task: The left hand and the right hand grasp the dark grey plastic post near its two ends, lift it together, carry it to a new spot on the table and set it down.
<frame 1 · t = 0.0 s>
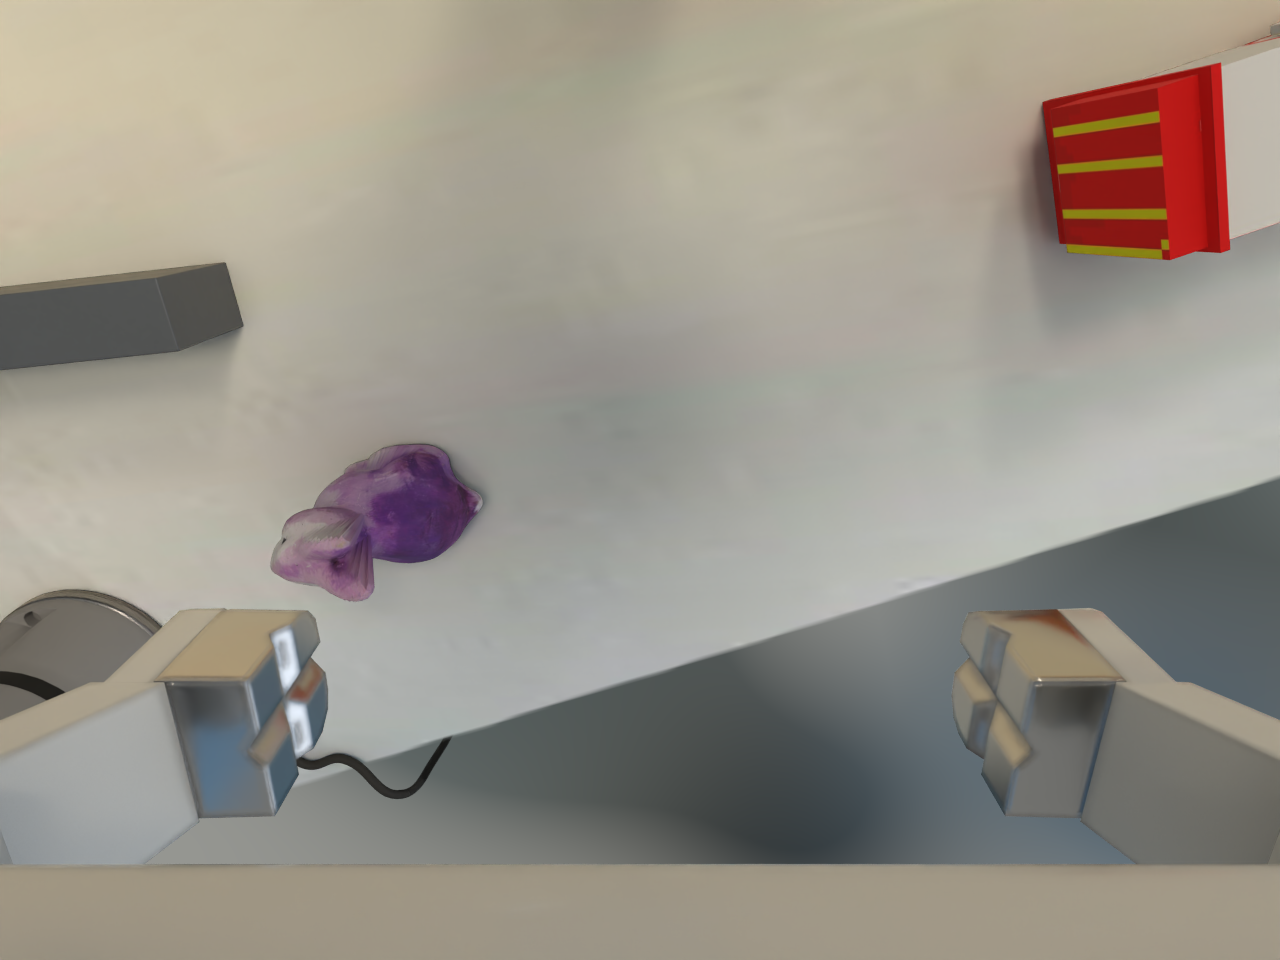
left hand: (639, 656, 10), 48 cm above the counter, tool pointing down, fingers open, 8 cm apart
figurine: (404, 493, 61), on the counter
red striped box: (1263, 104, 51), on the counter
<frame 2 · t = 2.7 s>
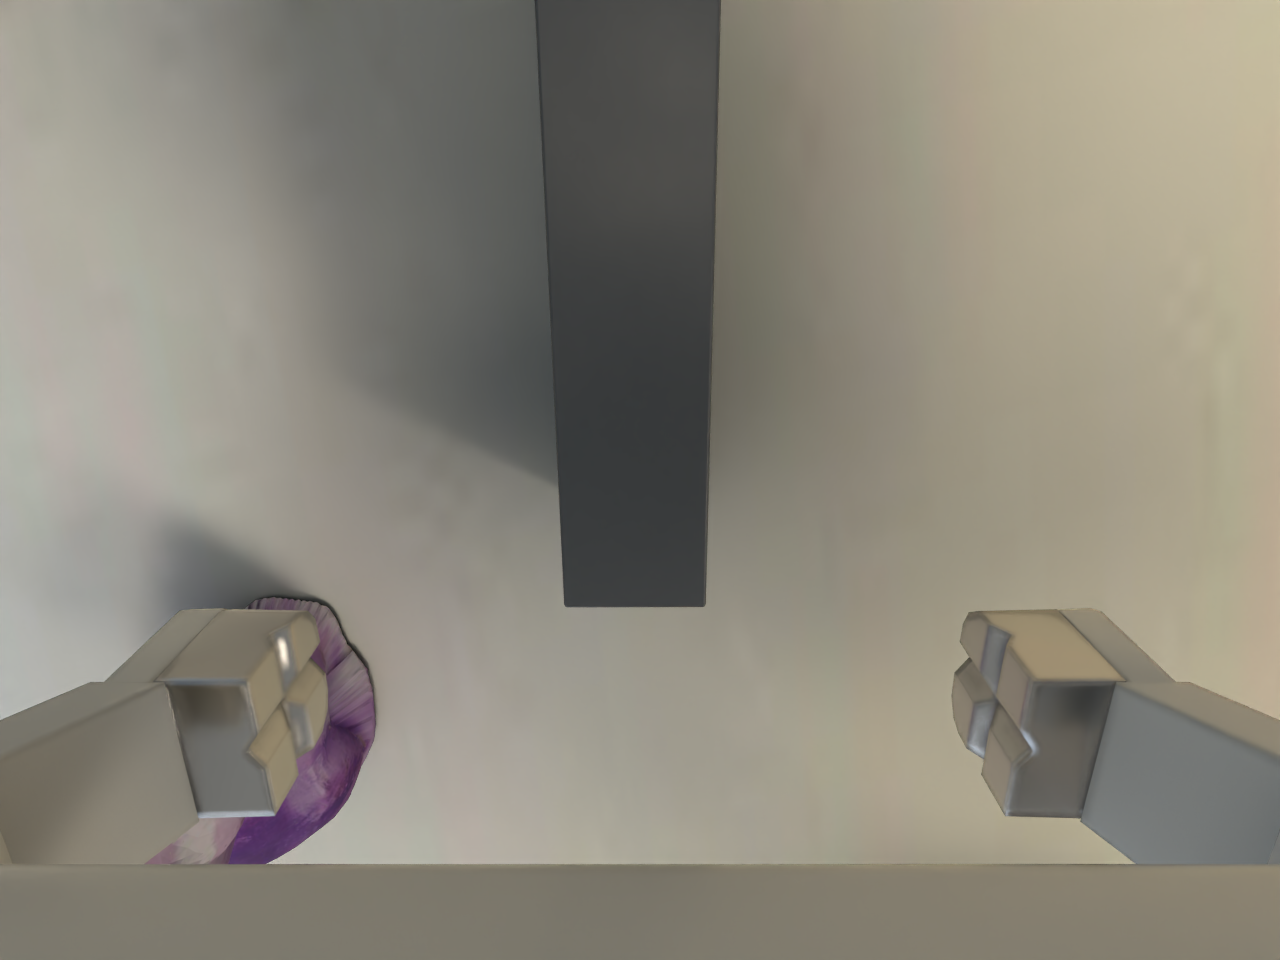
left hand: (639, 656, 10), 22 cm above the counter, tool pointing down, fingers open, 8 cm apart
figurine: (285, 678, 36), on the counter
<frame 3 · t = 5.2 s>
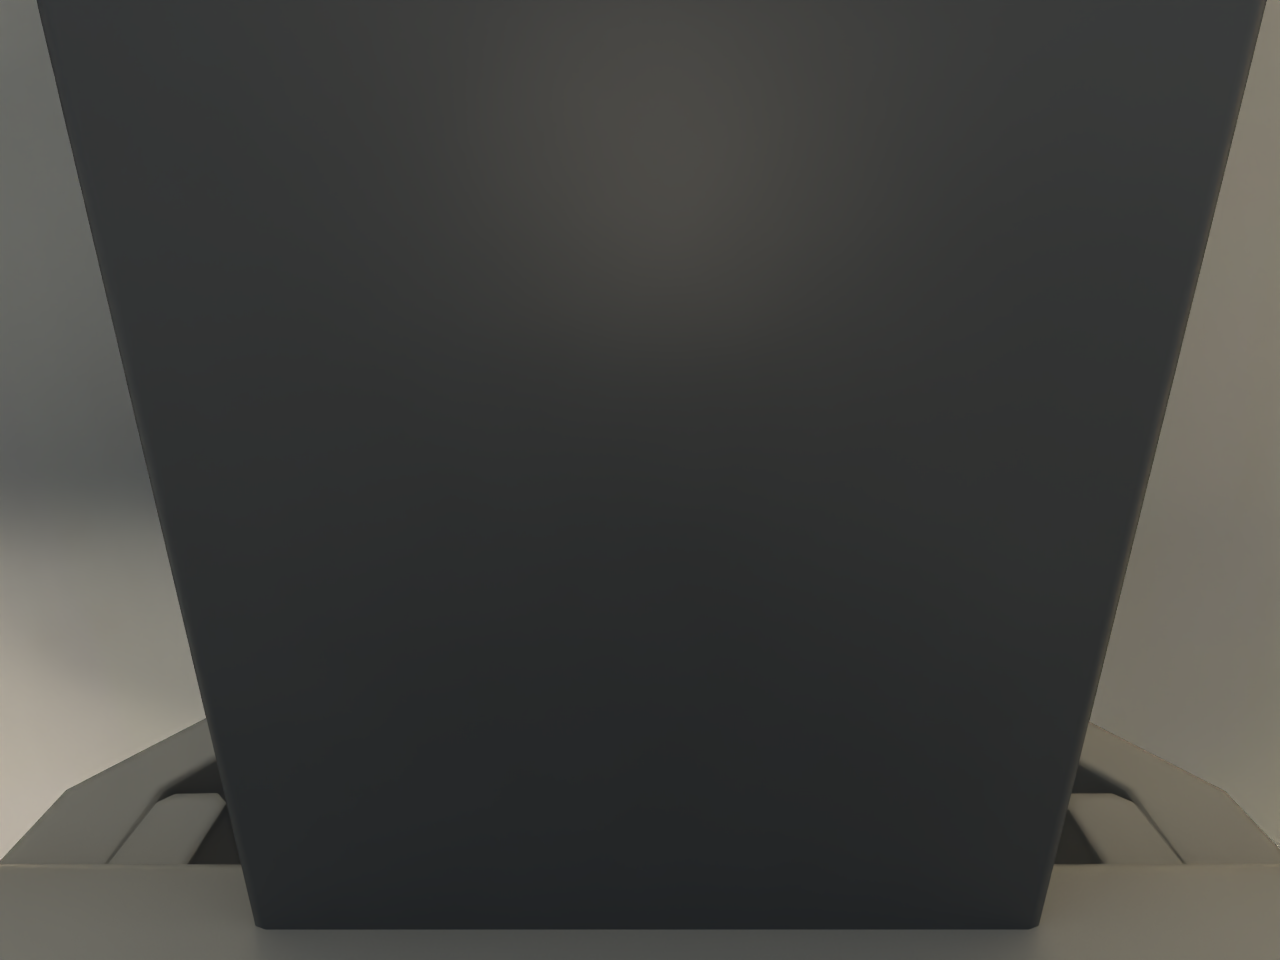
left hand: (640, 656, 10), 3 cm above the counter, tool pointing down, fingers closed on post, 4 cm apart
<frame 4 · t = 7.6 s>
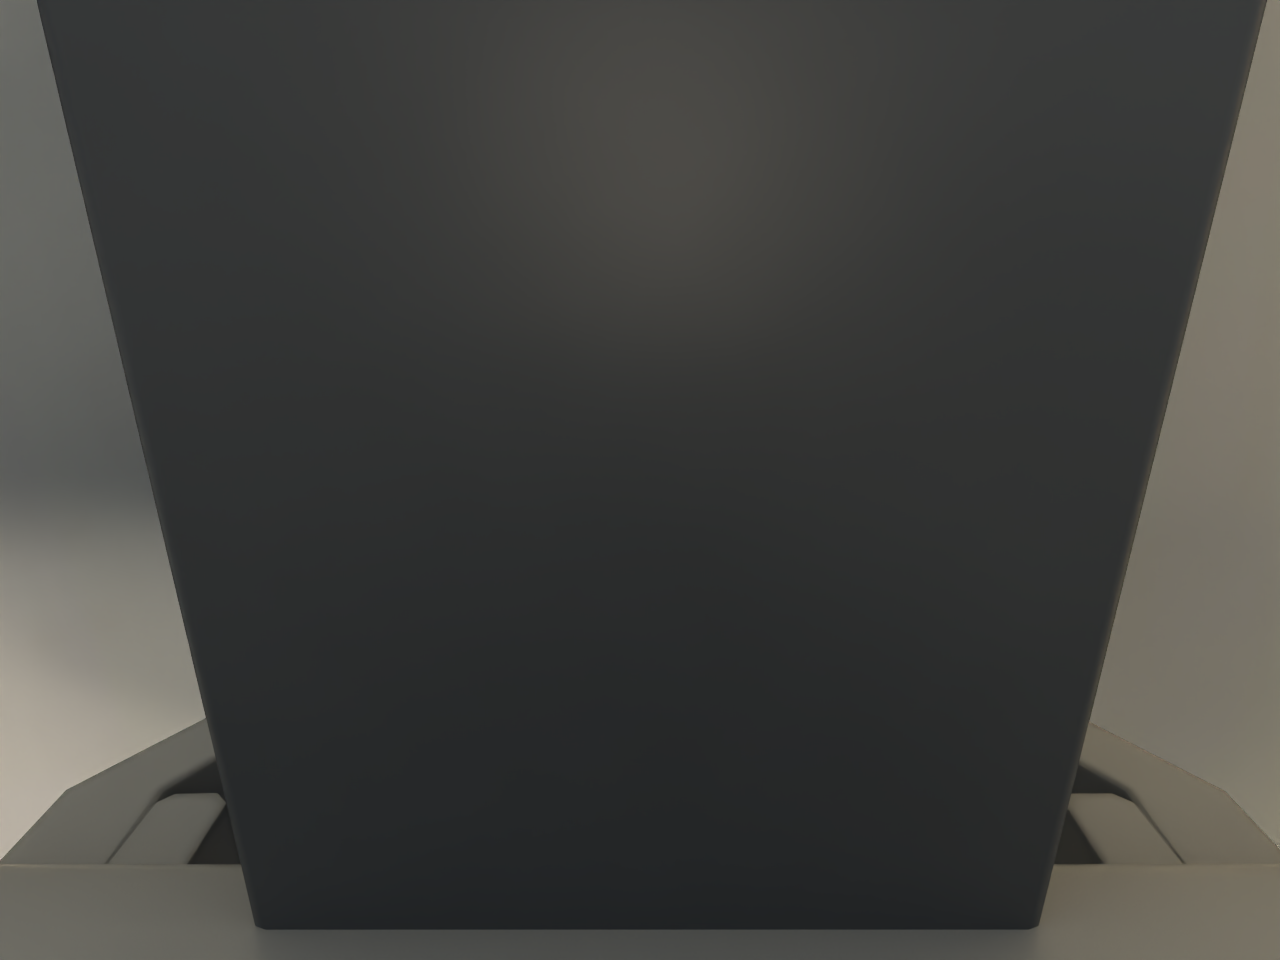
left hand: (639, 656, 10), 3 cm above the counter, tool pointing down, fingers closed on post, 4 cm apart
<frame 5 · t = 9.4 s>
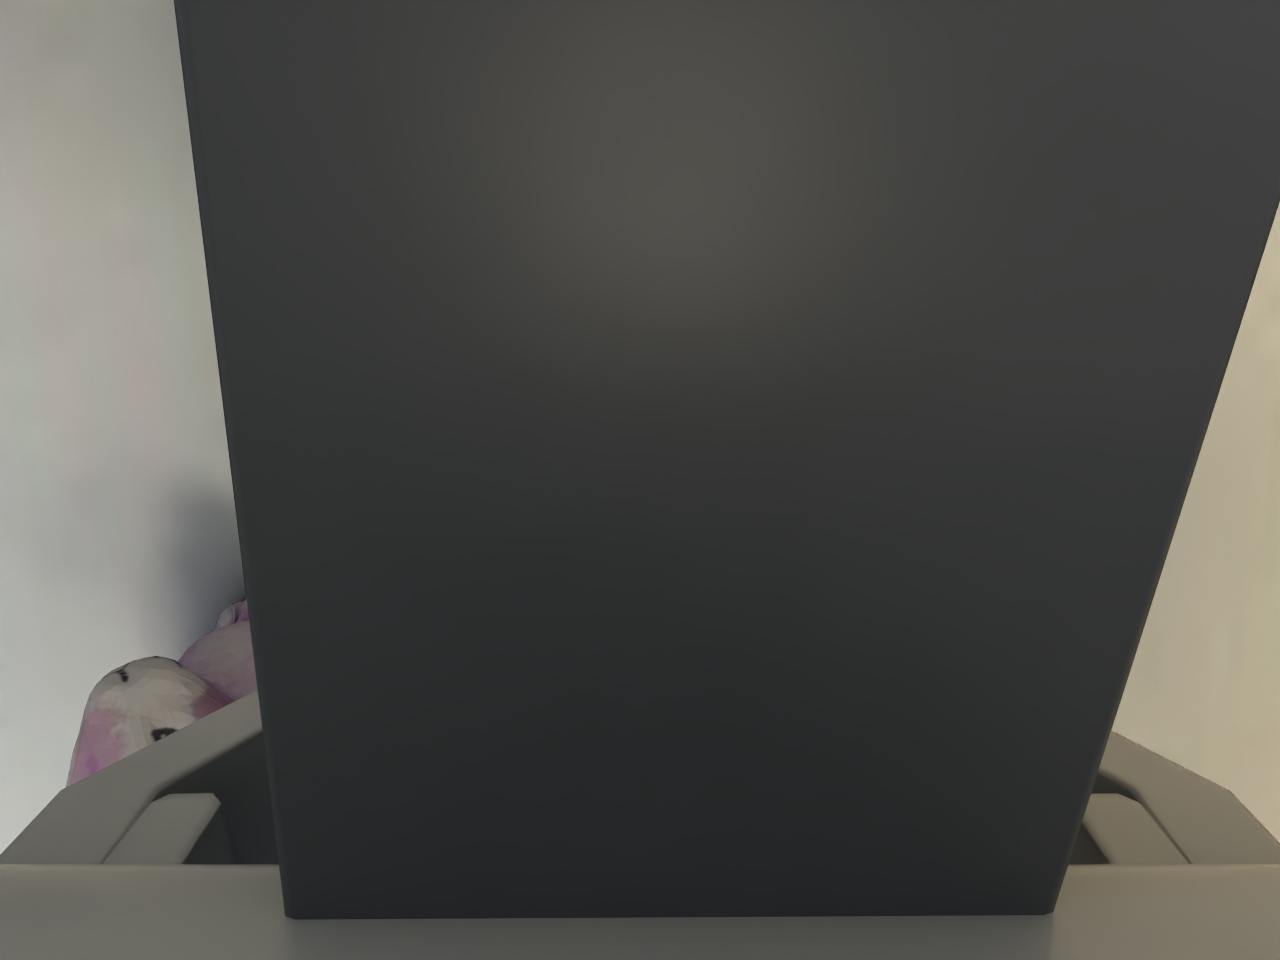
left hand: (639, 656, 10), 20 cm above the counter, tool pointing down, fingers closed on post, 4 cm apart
figurine: (294, 658, 34), on the counter
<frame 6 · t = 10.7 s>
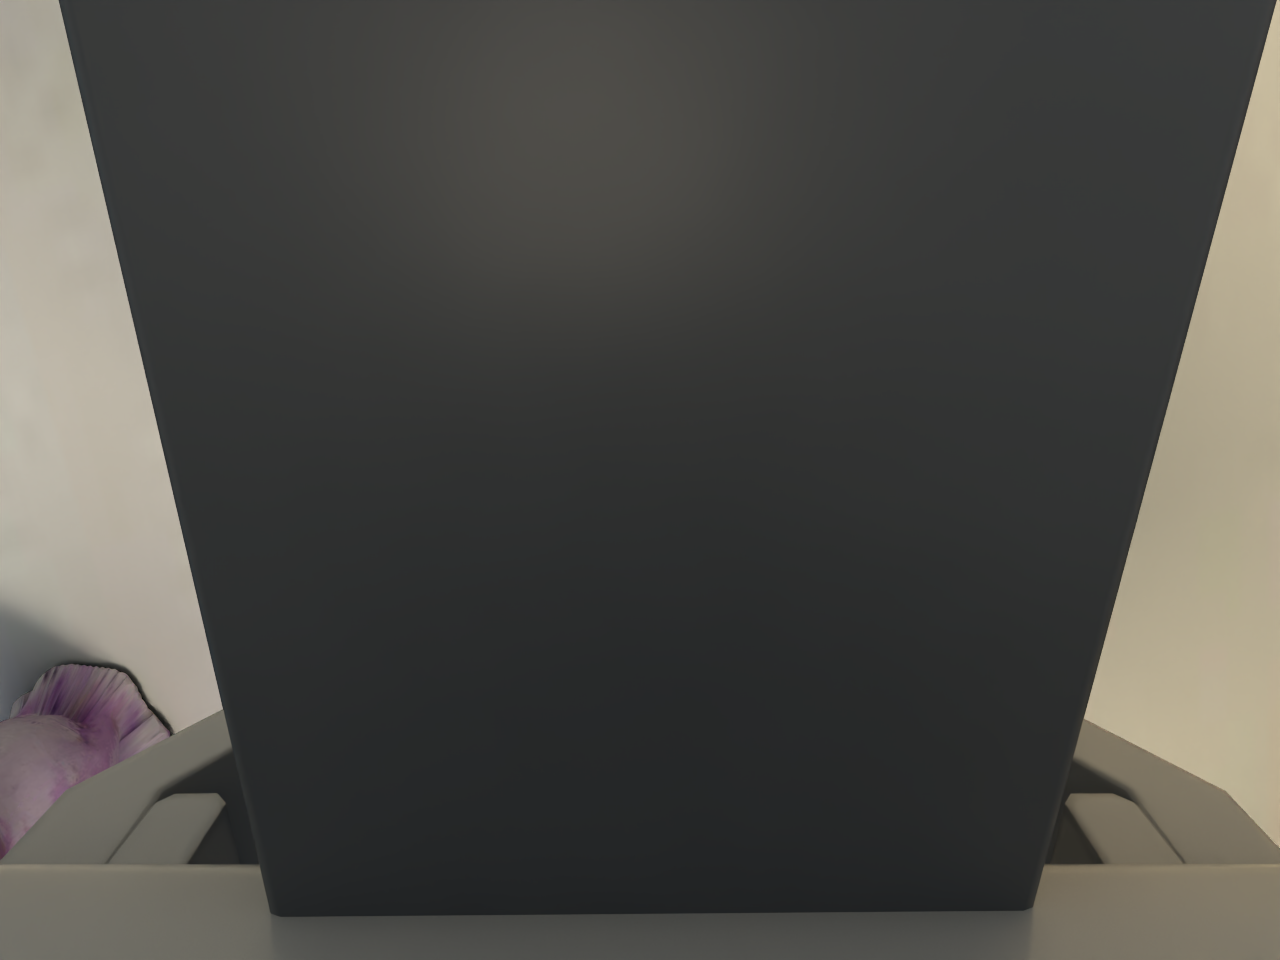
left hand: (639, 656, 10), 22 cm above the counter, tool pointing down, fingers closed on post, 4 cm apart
figurine: (91, 739, 37), on the counter
when the right hand's fingers open (2 cm above the counter, at t = 13.9 s): post drops 1 cm, on the counter.
when the left hand's fingers open (5 cm above the counter, at t = 14.0 s): post stays where it is, on the counter.
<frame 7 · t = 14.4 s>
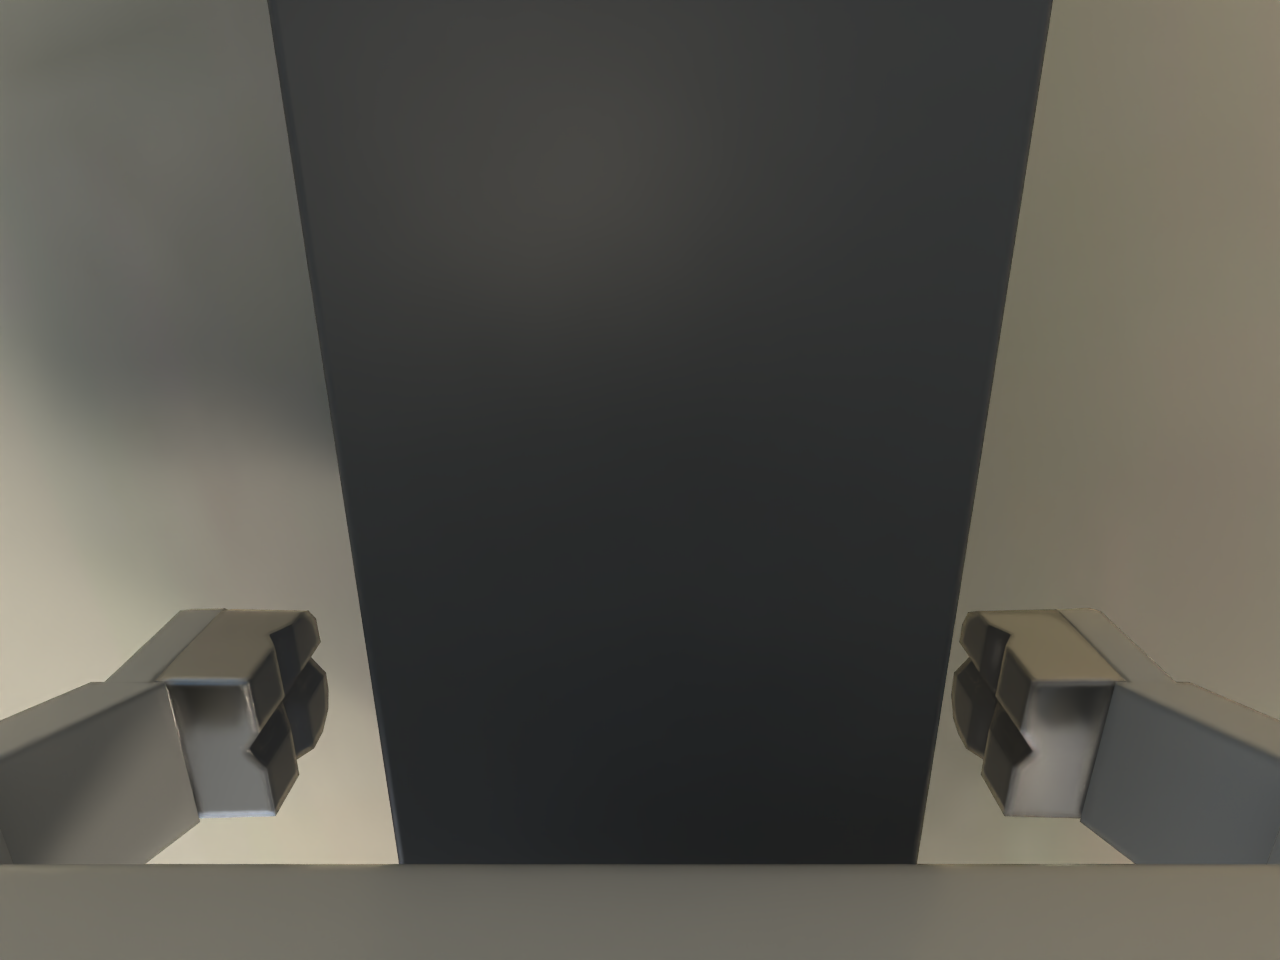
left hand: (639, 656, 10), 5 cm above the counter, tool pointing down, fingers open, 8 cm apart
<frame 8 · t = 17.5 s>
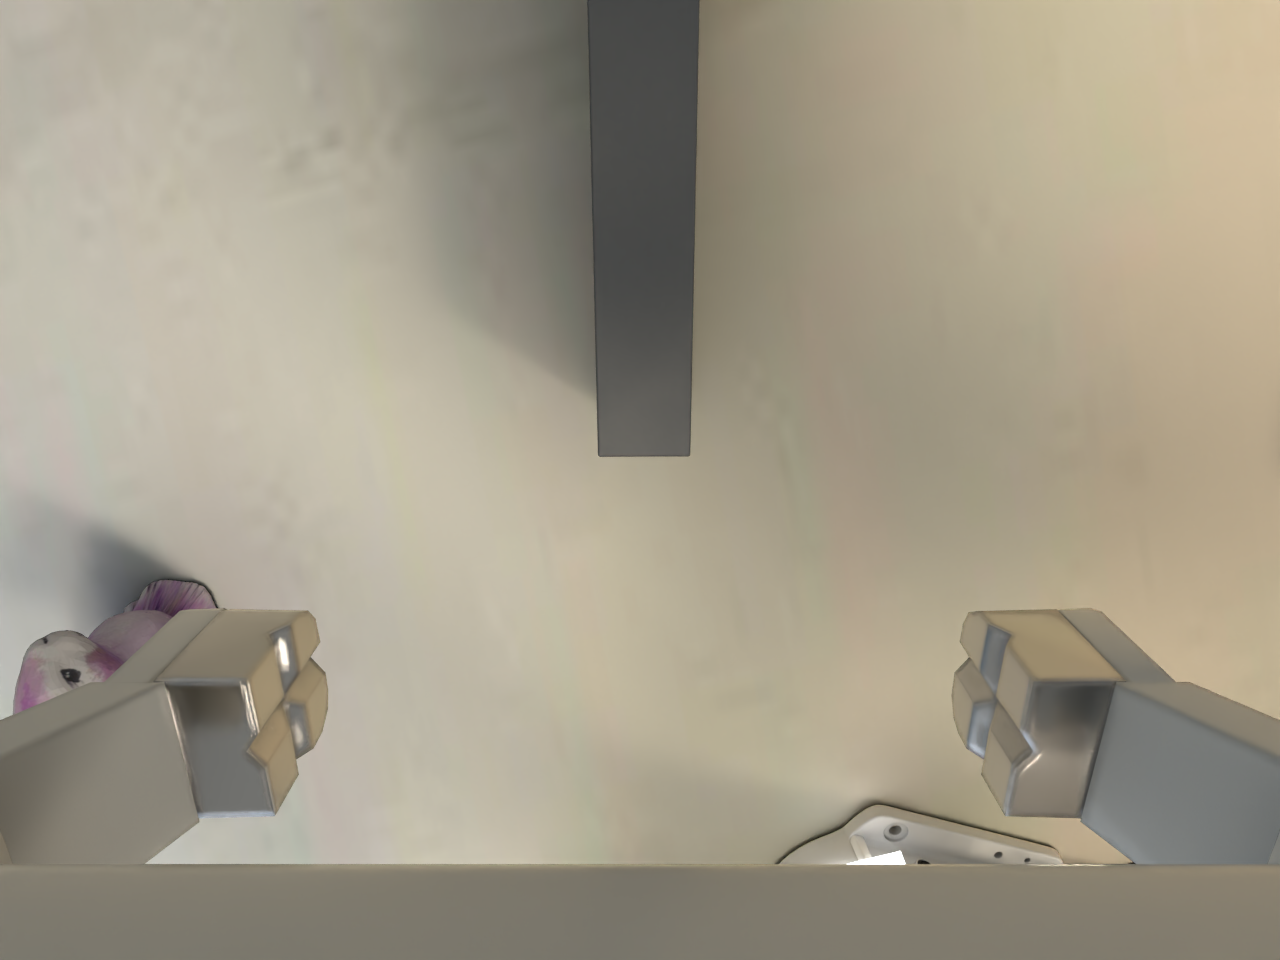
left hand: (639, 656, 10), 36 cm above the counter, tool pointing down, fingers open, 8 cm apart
figurine: (177, 637, 52), on the counter
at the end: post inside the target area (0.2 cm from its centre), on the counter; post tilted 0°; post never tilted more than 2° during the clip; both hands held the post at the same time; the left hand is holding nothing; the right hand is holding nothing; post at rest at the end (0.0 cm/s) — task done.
